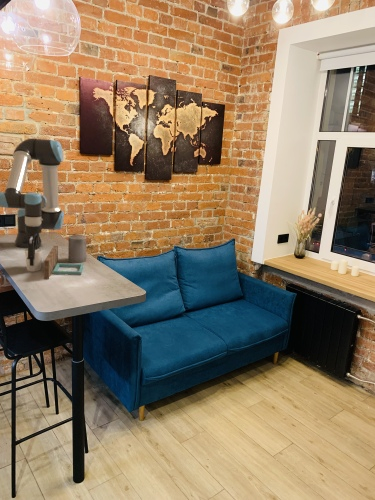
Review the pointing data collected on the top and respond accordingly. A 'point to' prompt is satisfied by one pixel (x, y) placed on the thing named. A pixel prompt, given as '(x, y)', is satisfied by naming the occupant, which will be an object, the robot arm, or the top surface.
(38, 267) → the white cup
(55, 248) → the brown wooden board
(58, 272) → the keeper frame
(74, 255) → the pillar candle
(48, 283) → the top surface
